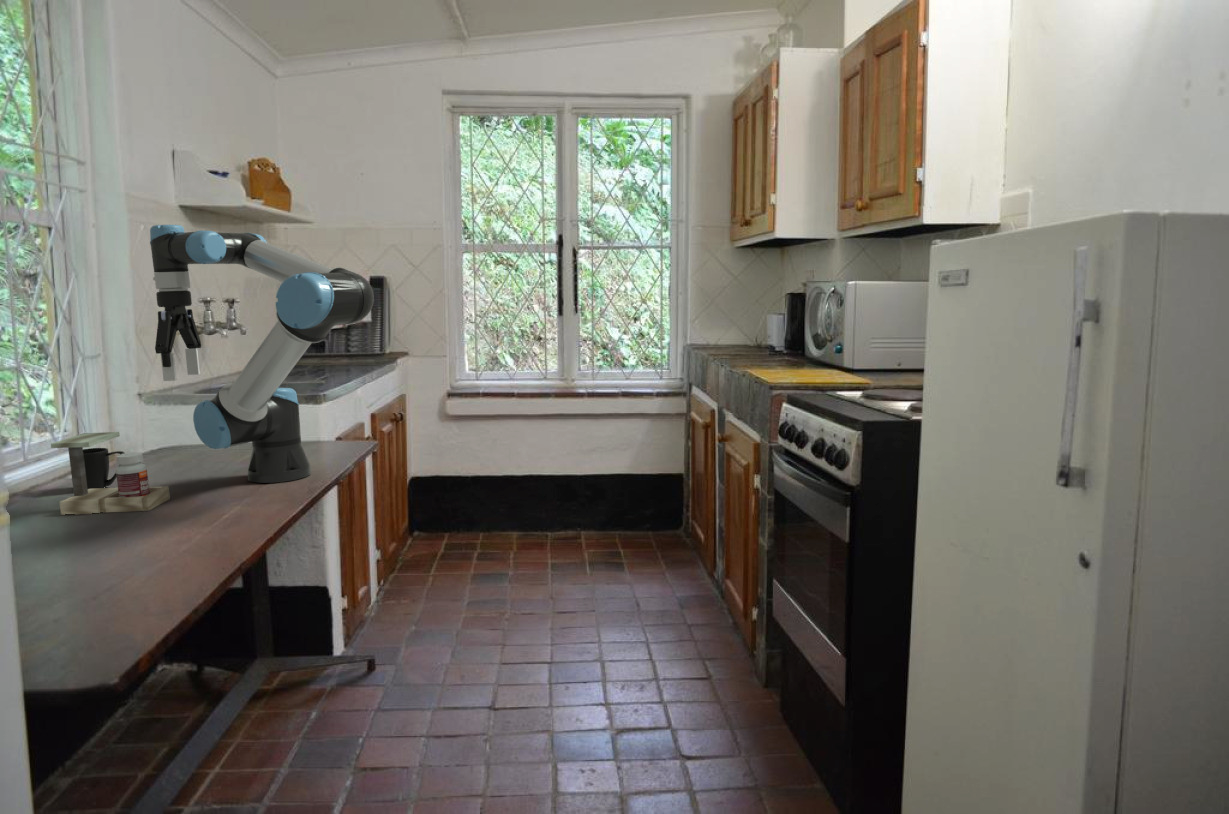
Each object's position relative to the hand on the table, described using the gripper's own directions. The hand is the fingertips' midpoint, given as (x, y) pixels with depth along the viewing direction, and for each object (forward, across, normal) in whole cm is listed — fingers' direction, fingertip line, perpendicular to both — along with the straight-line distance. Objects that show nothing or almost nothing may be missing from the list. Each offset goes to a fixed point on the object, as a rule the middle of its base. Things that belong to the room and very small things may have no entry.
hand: (182, 377), depth 217 cm
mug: (+27, 0, -22) cm, 35 cm away
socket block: (+27, +21, -8) cm, 35 cm away
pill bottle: (+26, +21, -4) cm, 34 cm away
